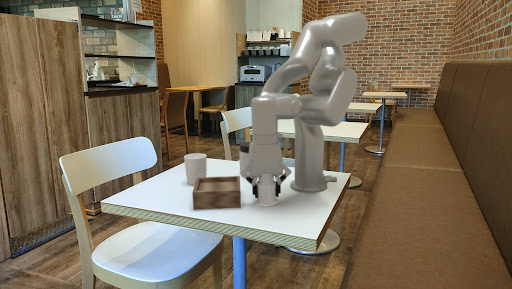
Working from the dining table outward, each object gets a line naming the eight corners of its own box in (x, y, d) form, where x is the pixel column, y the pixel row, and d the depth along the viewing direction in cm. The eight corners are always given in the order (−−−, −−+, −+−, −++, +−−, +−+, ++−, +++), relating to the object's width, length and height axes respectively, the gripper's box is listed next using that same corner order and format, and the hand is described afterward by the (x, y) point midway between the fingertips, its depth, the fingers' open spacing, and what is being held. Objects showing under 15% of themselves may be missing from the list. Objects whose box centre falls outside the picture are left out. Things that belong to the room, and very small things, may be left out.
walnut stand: (240, 191, 120) (239, 175, 119) (240, 208, 107) (240, 190, 105) (198, 193, 120) (197, 177, 118) (193, 209, 106) (192, 192, 105)
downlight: (252, 198, 113) (251, 168, 111) (273, 195, 115) (273, 166, 112) (258, 209, 106) (258, 177, 103) (281, 206, 108) (281, 175, 105)
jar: (249, 179, 133) (249, 147, 130) (235, 174, 139) (234, 144, 136) (266, 173, 139) (266, 143, 137) (252, 169, 145) (251, 140, 142)
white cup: (203, 186, 126) (202, 159, 123) (182, 185, 127) (180, 158, 125) (210, 179, 133) (209, 153, 131) (190, 178, 135) (189, 152, 132)
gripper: (292, 134, 110) (292, 190, 114) (235, 137, 109) (238, 193, 113) (296, 140, 102) (296, 199, 107) (235, 142, 102) (238, 202, 106)
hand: (266, 195), depth 110 cm, fingers closed on downlight, 5 cm apart
